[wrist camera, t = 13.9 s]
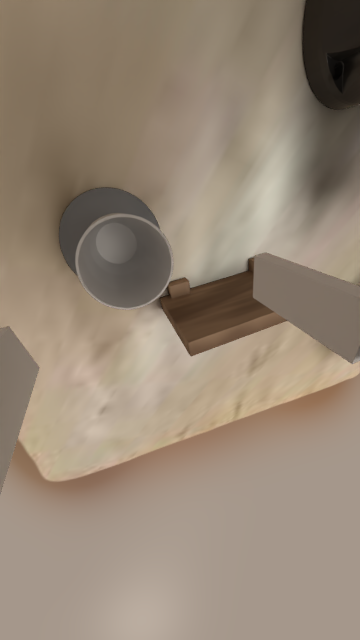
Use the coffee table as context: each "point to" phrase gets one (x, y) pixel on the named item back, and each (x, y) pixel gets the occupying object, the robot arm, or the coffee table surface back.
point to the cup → (124, 261)
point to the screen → (216, 311)
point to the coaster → (96, 216)
